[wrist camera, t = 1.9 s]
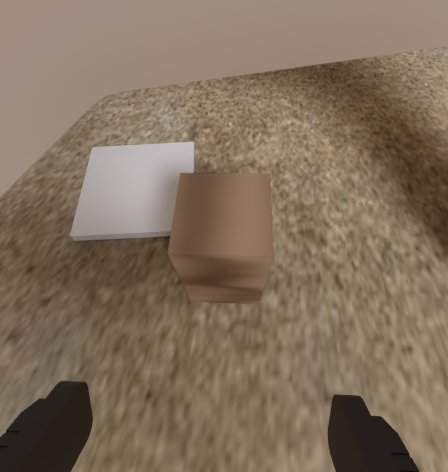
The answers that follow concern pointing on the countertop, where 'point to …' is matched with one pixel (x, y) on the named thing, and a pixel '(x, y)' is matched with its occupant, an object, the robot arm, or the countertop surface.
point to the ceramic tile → (131, 191)
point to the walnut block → (222, 236)
